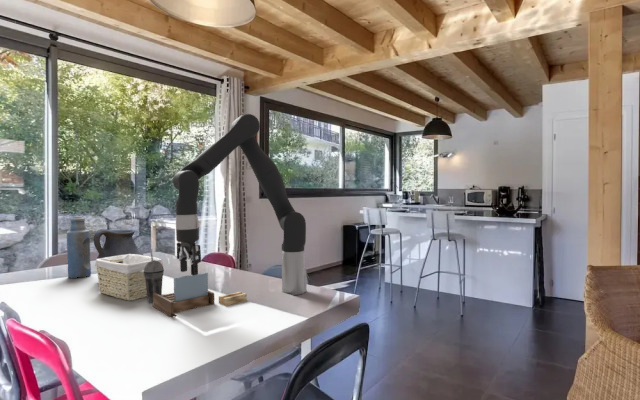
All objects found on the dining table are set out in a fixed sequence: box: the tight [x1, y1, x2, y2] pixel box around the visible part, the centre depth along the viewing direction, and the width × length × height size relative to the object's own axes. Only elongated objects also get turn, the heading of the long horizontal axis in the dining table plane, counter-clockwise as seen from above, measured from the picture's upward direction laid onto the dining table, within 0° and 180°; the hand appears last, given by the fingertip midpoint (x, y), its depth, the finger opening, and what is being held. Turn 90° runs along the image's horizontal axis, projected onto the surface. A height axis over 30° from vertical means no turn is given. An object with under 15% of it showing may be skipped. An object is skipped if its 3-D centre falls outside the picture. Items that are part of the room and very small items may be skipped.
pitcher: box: [93, 228, 145, 263], centre depth 179 cm, size 21×22×25 cm
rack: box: [152, 290, 215, 318], centre depth 136 cm, size 16×16×5 cm
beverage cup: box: [143, 249, 165, 304], centre depth 143 cm, size 7×7×20 cm
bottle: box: [66, 216, 92, 279], centre depth 187 cm, size 10×10×30 cm
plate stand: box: [218, 291, 248, 307], centre depth 138 cm, size 9×5×4 cm, turn 134°
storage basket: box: [95, 254, 164, 302], centre depth 155 cm, size 24×16×15 cm
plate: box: [173, 272, 209, 302], centre depth 134 cm, size 12×1×11 cm, turn 134°
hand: (189, 273), depth 132 cm, fingers open, 8 cm apart
